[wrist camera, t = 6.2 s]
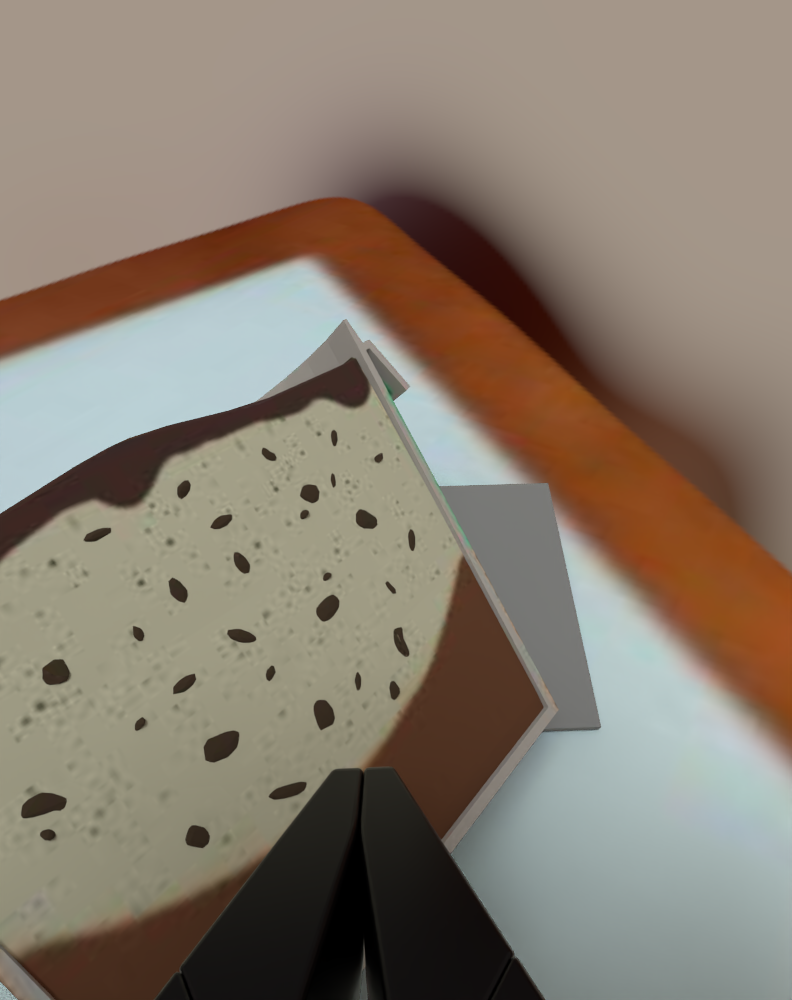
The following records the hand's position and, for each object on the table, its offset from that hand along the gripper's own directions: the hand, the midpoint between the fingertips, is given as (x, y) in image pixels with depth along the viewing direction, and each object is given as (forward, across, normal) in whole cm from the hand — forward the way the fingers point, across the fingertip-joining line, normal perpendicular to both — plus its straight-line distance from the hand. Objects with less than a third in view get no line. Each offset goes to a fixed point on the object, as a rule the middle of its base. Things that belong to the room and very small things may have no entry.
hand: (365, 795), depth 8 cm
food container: (+4, 0, +5) cm, 6 cm away
